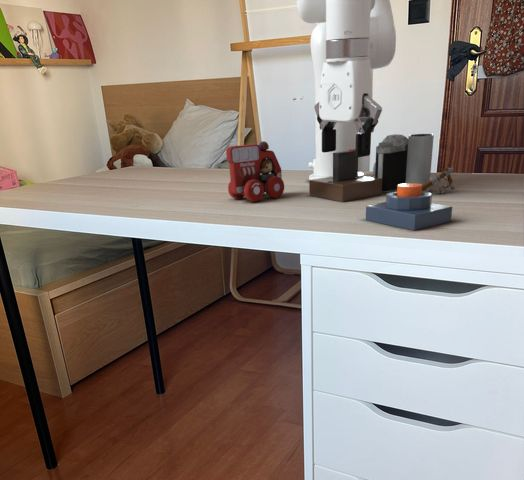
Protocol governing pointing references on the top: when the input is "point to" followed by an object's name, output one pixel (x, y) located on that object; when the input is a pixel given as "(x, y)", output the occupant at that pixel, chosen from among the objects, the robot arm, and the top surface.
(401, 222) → the button box
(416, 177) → the grey hollow tube
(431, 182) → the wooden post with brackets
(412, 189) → the button
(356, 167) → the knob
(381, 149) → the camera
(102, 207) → the top surface
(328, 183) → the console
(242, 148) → the toy fire truck
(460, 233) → the top surface
